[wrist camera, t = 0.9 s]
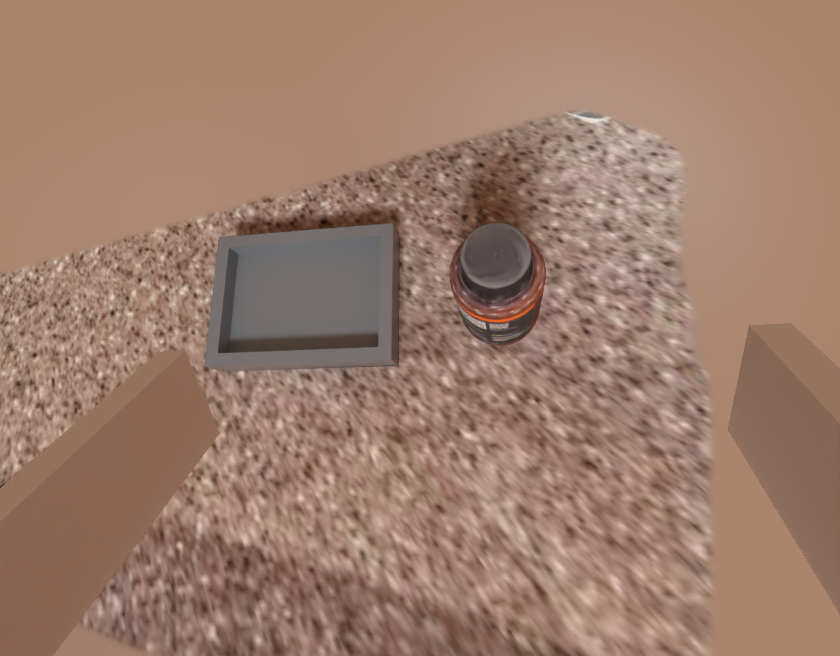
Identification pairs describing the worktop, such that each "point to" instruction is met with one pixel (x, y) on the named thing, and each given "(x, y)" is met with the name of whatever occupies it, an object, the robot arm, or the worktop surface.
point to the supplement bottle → (498, 283)
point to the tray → (306, 300)
